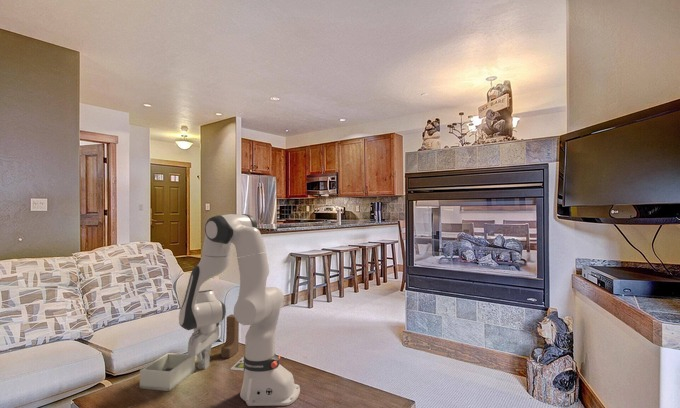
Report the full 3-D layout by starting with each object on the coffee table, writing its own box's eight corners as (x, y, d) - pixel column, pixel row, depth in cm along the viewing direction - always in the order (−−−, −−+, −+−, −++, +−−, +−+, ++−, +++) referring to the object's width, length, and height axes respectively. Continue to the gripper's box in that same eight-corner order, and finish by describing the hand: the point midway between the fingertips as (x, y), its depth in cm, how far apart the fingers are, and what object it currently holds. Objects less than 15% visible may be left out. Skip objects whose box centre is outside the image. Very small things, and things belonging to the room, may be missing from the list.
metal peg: (209, 365, 157) (209, 345, 157) (205, 369, 154) (205, 348, 154) (202, 365, 158) (202, 344, 158) (197, 368, 154) (198, 347, 154)
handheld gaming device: (261, 356, 167) (248, 370, 152) (261, 357, 167) (248, 372, 152) (244, 355, 168) (229, 368, 153) (243, 356, 168) (229, 370, 153)
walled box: (194, 371, 151) (195, 354, 151) (169, 391, 135) (170, 372, 135) (167, 369, 153) (167, 352, 154) (139, 388, 137) (139, 370, 137)
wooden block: (229, 358, 165) (229, 320, 165) (220, 357, 166) (221, 319, 166) (238, 351, 173) (239, 314, 174) (230, 350, 174) (231, 314, 175)
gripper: (197, 334, 145) (197, 368, 145) (221, 320, 165) (221, 349, 165) (183, 334, 146) (183, 367, 146) (209, 319, 166) (209, 348, 166)
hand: (203, 357), depth 156 cm, fingers open, 5 cm apart
